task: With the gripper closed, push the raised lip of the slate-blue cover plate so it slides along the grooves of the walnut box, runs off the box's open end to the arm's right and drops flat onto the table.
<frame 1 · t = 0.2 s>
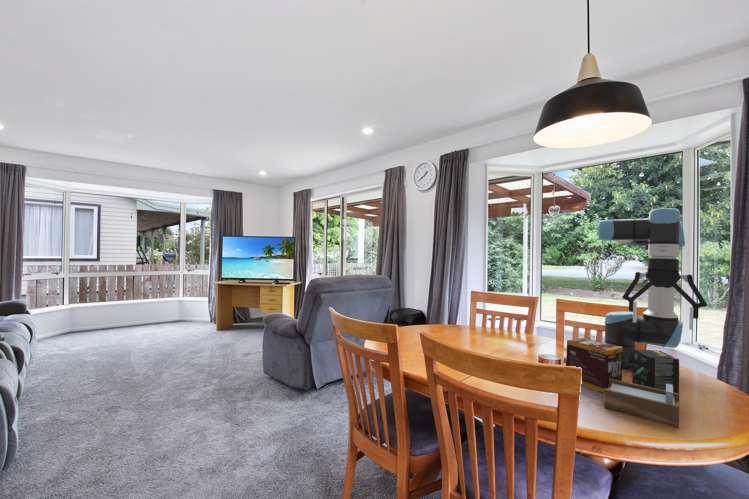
hand: (661, 325, 108), 27 cm above the table, tool pointing down, fingers open, 13 cm apart
grooved box: (640, 410, 110), on the table
supplement box: (593, 384, 131), on the table
cover plate: (640, 397, 110), point 4 cm above the table, touching grooved box
tampon box: (654, 395, 122), on the table
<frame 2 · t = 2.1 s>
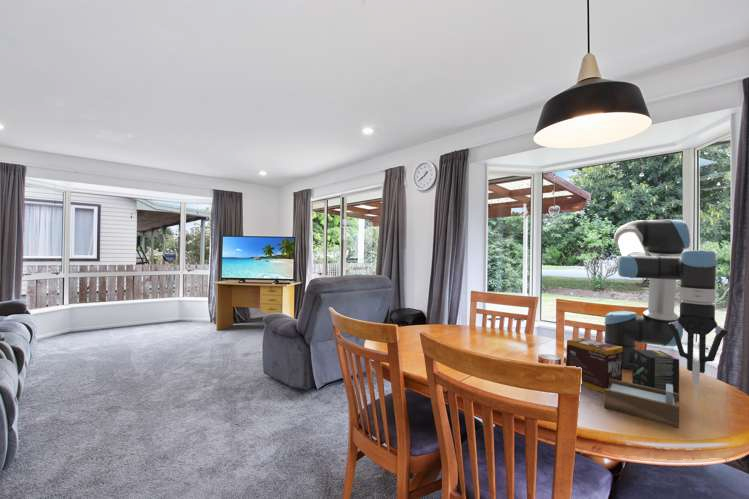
hand: (695, 382, 101), 12 cm above the table, tool pointing down, fingers closed
nothing on the table moved.
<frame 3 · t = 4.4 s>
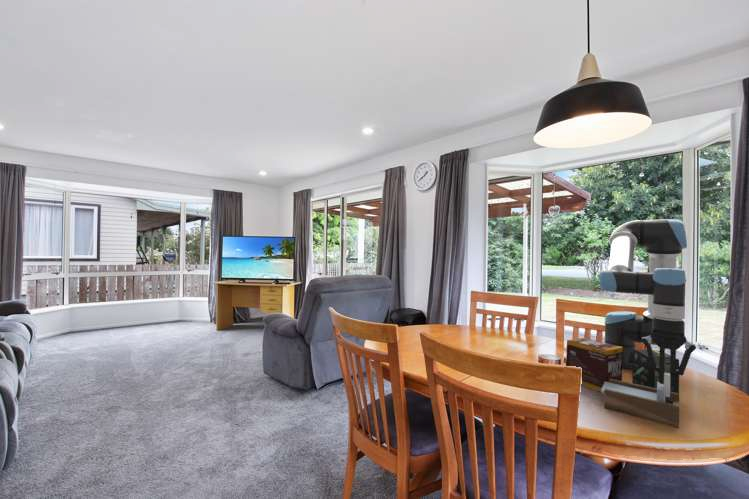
hand: (666, 395, 106), 7 cm above the table, tool pointing down, fingers closed
cover plate: (632, 395, 111), point 4 cm above the table
everything else where it was.
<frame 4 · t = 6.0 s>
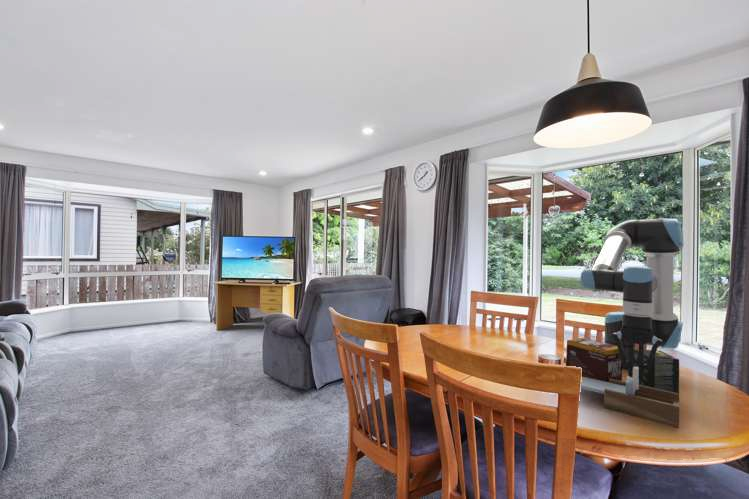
hand: (635, 388, 110), 7 cm above the table, tool pointing down, fingers closed
cover plate: (604, 389, 116), point 4 cm above the table, touching gripper
everything else where it was.
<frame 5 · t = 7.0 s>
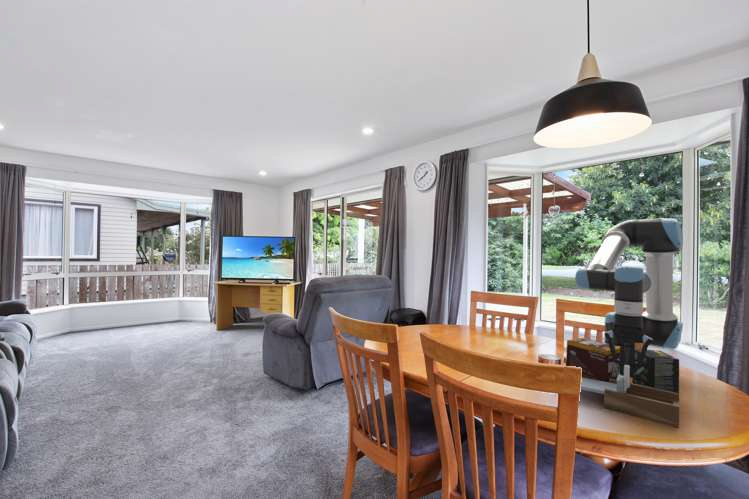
hand: (626, 386, 112), 7 cm above the table, tool pointing down, fingers closed
cover plate: (596, 387, 117), point 4 cm above the table, touching grooved box
everything else where it was.
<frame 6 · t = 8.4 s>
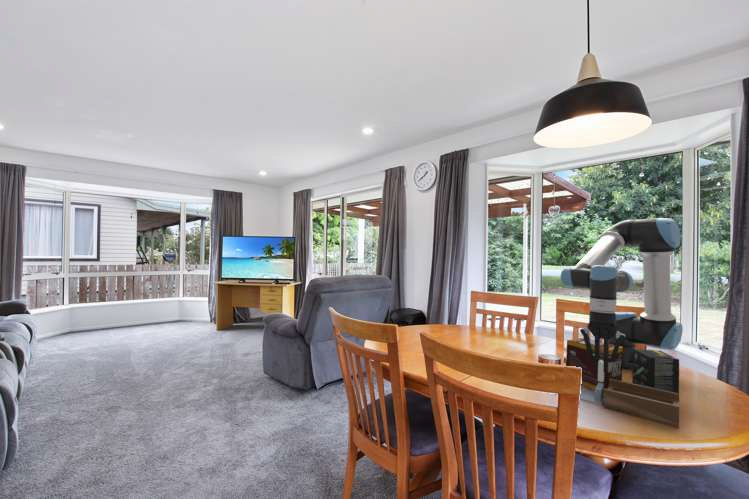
hand: (600, 380, 117), 7 cm above the table, tool pointing down, fingers closed
cover plate: (576, 395, 121), on the table
everything else where it was.
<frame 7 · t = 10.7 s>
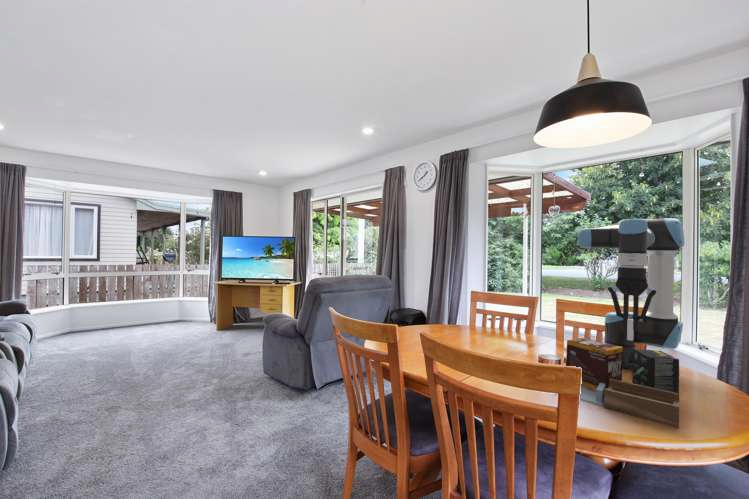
hand: (630, 339, 112), 22 cm above the table, tool pointing down, fingers closed
nothing on the table moved.
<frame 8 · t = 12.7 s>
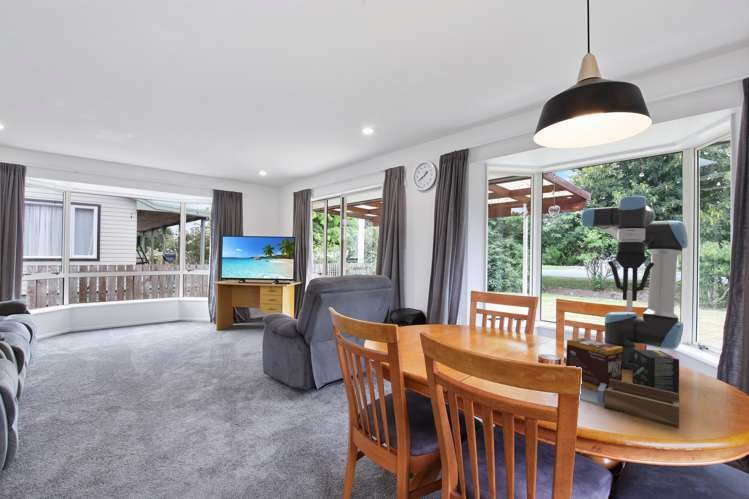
hand: (629, 310, 118), 30 cm above the table, tool pointing down, fingers closed
nothing on the table moved.
at the end: cover plate inside the target area (10.1 cm from its centre), on the table; cover plate tilted 0° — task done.
